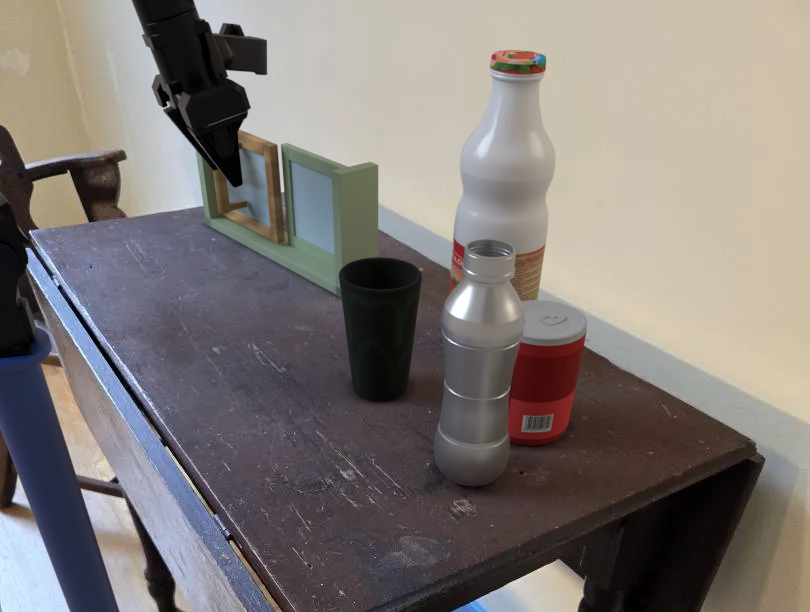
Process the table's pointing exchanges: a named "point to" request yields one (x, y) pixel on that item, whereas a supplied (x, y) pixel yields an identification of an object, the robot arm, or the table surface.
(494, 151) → the fruit juice
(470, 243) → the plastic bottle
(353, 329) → the cup
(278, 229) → the sash
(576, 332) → the canned food
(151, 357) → the table surface
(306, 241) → the window frame
